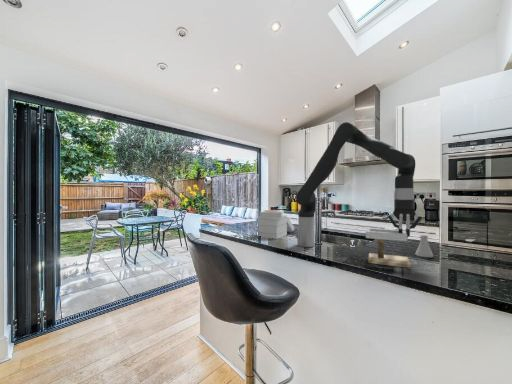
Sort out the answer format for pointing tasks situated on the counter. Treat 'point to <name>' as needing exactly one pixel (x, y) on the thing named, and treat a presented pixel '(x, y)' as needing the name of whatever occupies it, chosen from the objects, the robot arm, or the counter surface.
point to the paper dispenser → (273, 224)
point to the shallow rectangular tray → (386, 234)
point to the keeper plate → (387, 257)
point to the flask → (424, 248)
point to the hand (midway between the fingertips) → (404, 237)
